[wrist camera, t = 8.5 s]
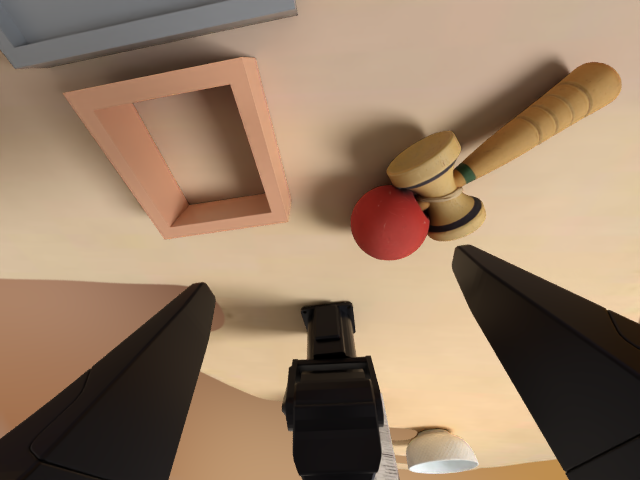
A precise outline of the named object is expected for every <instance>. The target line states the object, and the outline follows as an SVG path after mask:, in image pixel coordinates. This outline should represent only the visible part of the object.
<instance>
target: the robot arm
mask: <svg viewBox="0 0 640 480" xmlns="http://www.w3.org/2000/svg"><path fill="white" fill-rule="evenodd" d="M452 269H453V272H454V274H455V277H456V279H457V281H458V284H459V286H460V288H461V290H462V293H463V295H464V297H465V299H466V302H467V304H468V306H469V308H470V310H471V312H472V314H473V316H474V317H475V319H476V321H477V323H478V324H479V326H480V328H481V329H482V331H483V333H484V335H485V336H486V338H487V340H488V341H489V343H490V345H491V347H492V348H493V350H494V352H495V353H496V355H497V357H498V359H499V360H500V362H501V364H502V365H503V367H504V369H505V371H506V372H507V374H508V376H509V377H510V379H511V381H512V383H513V384H514V386H515V388H516V389H517V391H518V393H519V395H520V396H521V398H522V400H523V401H524V403H525V405H526V407H527V408H528V410H529V412H530V413H531V415H532V417H533V418H534V420H535V422H536V424H537V425H538V427H539V429H540V430H541V432H542V434H543V436H544V437H545V439H546V441H547V442H548V444H549V446H550V448H551V449H552V451H553V453H554V454H555V456H556V458H557V460H558V461H559V463H560V465H561V466H562V468H563V470H564V471H565V472H566V475H567V477H568V479H569V480H640V324H639V323H636V322H634V321H632V320H630V319H628V318H626V317H624V316H621V315H619V314H617V313H615V312H613V311H611V310H606V308H604V307H602V306H600V305H598V304H596V303H594V302H591V301H589V300H587V299H585V298H583V297H581V296H579V295H576V294H574V293H572V292H570V291H568V290H566V289H564V288H562V287H559V286H557V285H555V284H553V283H551V282H549V281H547V280H545V279H542V278H540V277H538V276H536V275H534V274H532V273H530V272H528V271H525V270H523V269H521V268H519V267H517V266H515V265H513V264H510V263H508V262H506V261H504V260H502V259H500V258H498V257H496V256H493V255H491V254H489V253H487V252H485V251H483V250H481V249H479V248H476V247H474V246H472V245H461V246H457V247H456V248H455V251H454V256H453V261H452ZM215 302H216V300H215V296H214V294H213V293H212V291H211V290H210V288H209V287H208V285H207V284H206V283H204V282H200V283H194V284H192V285H191V286H189V287H188V288H187V289H186V290H185V291H183V292H182V293H181V294H180V295H179V296H177V297H176V298H175V299H174V300H173V301H171V302H170V303H169V304H168V305H166V306H165V307H164V308H163V309H162V310H160V311H159V312H158V313H157V314H156V315H154V316H153V317H152V318H151V319H150V320H148V321H147V322H146V323H145V324H143V325H142V326H141V327H140V328H138V329H137V330H136V331H135V332H134V333H132V334H131V335H130V336H129V337H128V338H126V339H125V340H124V341H123V342H121V343H120V344H119V345H118V346H117V347H115V348H114V349H113V350H112V351H111V352H109V353H108V354H107V355H106V356H105V357H103V358H102V359H101V360H100V361H98V362H97V363H96V364H95V365H94V366H93V367H92V368H91V369H89V370H87V372H85V373H84V374H83V375H81V376H80V377H79V378H78V379H77V380H75V381H74V382H73V383H72V384H70V385H69V386H68V387H67V388H66V389H64V390H63V391H62V392H61V393H59V394H58V395H57V396H56V397H54V398H53V399H52V400H50V401H49V402H48V403H47V404H45V405H44V406H43V407H41V408H40V409H39V410H37V411H36V412H35V413H34V414H32V415H31V416H30V417H28V418H27V419H26V420H24V421H23V422H22V423H20V424H19V425H18V426H16V427H15V428H14V429H13V430H11V431H10V432H9V433H7V434H6V435H5V436H3V437H2V438H1V439H0V480H168V479H169V476H170V472H171V469H172V465H173V462H174V459H175V455H176V452H177V448H178V445H179V441H180V438H181V434H182V431H183V427H184V424H185V421H186V417H187V414H188V410H189V407H190V403H191V400H192V396H193V393H194V389H195V386H196V382H197V379H198V376H199V372H200V369H201V365H202V362H203V358H204V355H205V352H206V348H207V344H208V340H209V336H210V330H211V325H212V319H213V314H214V308H215ZM301 314H302V317H303V320H304V323H305V326H306V329H307V332H308V337H307V360H298V359H293V362H292V366H291V367H289V374H288V383H287V388H286V392H285V396H284V400H283V403H282V412H283V413H284V414H285V415H286V421H287V427H288V430H289V431H293V457H294V463H295V465H296V468H297V471H298V473H299V475H300V476H301V477H302V479H303V480H374V479H375V475H376V473H378V470H379V466H380V462H381V458H382V447H381V440H380V432H379V427H384V413H383V404H382V398H381V393H380V389H379V385H378V382H377V378H376V374H375V370H374V367H373V363H372V359H371V356H366V357H356V351H355V344H354V337H353V334H354V333H355V332H356V331H355V323H354V314H353V305H352V303H350V302H346V303H337V304H328V305H320V306H311V307H303V308H302V309H301Z"/></svg>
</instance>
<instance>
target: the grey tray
mask: <svg viewBox="0 0 640 480" xmlns="http://www.w3.org/2000/svg"><path fill="white" fill-rule="evenodd" d="M296 15H298V14H297V8H296V1H295V0H0V50H1V51H2V52H3V54H4V55H5V56H6V58H7V59H8V60H9V62H10V63H11V64H12V66H13V67H14V68H15V69H25V68H50V67H54V66H59V65H64V64H68V63H73V62H78V61H83V60H87V59H92V58H97V57H102V56H106V55H111V54H116V53H121V52H125V51H130V50H135V49H140V48H144V47H149V46H154V45H159V44H163V43H168V42H173V41H178V40H182V39H187V38H192V37H196V36H201V35H206V34H211V33H215V32H220V31H225V30H230V29H234V28H239V27H244V26H249V25H253V24H258V23H263V22H268V21H272V20H277V19H282V18H287V17H291V16H296Z"/></svg>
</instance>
